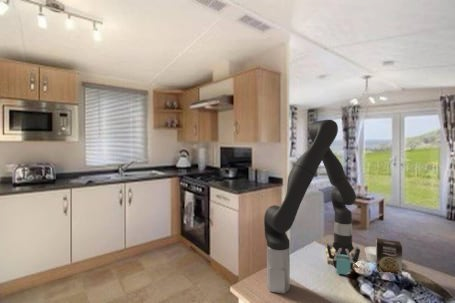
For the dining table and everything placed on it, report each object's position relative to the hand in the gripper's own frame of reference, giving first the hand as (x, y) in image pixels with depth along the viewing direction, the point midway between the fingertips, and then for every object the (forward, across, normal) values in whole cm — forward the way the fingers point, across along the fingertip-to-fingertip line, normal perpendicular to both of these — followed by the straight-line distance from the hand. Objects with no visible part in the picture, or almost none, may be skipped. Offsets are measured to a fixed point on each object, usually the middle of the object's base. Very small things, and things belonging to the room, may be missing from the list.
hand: (342, 268), depth 108 cm
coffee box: (+2, +18, +1) cm, 18 cm away
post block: (+2, 0, +15) cm, 15 cm away
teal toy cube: (+1, 0, 0) cm, 1 cm away
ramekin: (+2, +18, +17) cm, 25 cm away
